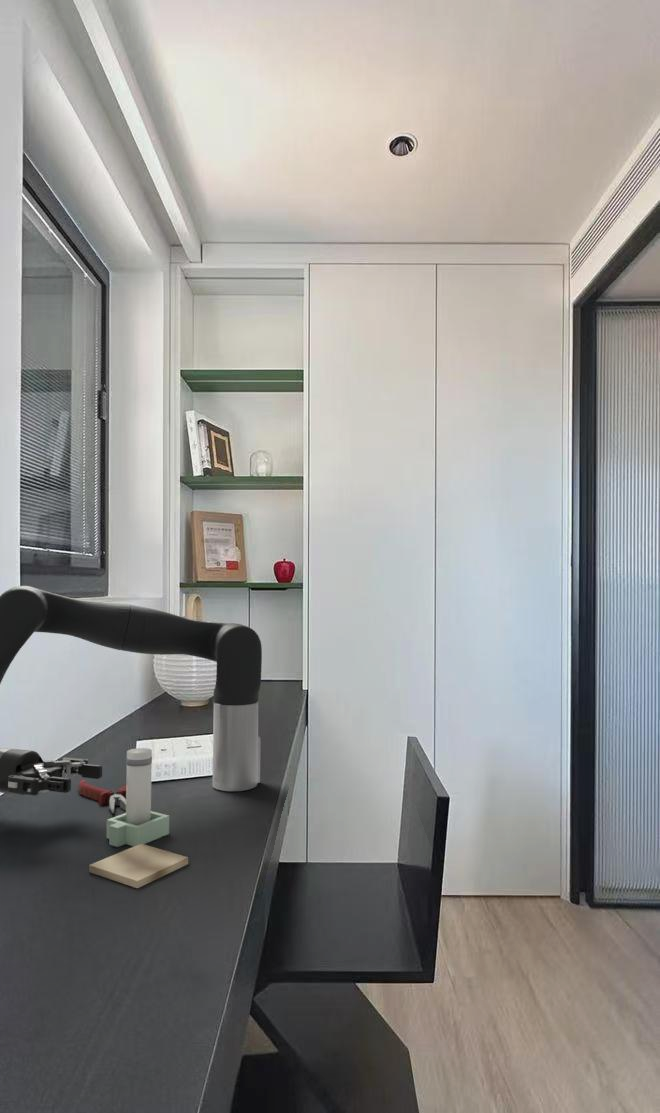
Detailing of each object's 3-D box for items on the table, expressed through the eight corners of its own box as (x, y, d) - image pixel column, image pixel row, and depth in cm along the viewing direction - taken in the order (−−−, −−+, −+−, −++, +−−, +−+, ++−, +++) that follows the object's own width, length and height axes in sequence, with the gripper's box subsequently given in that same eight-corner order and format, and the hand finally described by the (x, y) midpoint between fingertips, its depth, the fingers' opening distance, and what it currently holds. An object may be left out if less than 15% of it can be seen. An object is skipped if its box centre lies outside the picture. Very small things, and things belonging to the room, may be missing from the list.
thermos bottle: (138, 829, 120) (140, 746, 121) (156, 834, 118) (157, 750, 119) (119, 837, 117) (121, 751, 117) (137, 842, 115) (138, 755, 115)
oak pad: (141, 849, 112) (141, 843, 112) (188, 864, 106) (188, 857, 106) (89, 872, 103) (89, 865, 103) (137, 888, 98) (137, 881, 98)
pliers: (87, 822, 125) (88, 807, 126) (77, 791, 144) (77, 778, 144) (153, 814, 130) (153, 800, 130) (135, 785, 148) (135, 772, 149)
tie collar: (139, 825, 123) (139, 808, 123) (169, 833, 119) (169, 815, 119) (98, 841, 115) (98, 822, 115) (129, 850, 111) (129, 831, 112)
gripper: (-23, 759, 119) (58, 767, 114) (36, 740, 133) (111, 747, 128) (-24, 804, 119) (58, 814, 114) (35, 781, 132) (110, 789, 128)
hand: (85, 778), depth 121 cm, fingers open, 8 cm apart
